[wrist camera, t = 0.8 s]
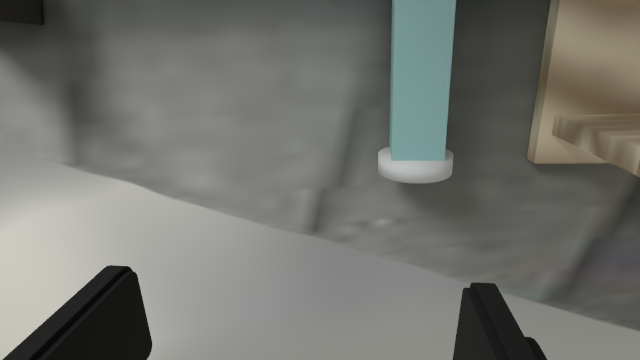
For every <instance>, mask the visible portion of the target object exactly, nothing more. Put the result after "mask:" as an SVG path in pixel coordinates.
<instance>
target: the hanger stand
mask: <svg viewBox="0 0 640 360" xmlns="http://www.w3.org/2000/svg"><path fill="white" fill-rule="evenodd" d="M527 159H528V160H529V161H531V162H532V163H534V164H564V163H612V164H614V165H616V166H618V167H620V168H622V169H624V170H626V171H628V172H630V173H632V174H634V175H636V176H638V177H640V0H551V1H550V8H549V14H548V21H547V28H546V34H545V41H544V48H543V54H542V61H541V68H540V74H539V81H538V87H537V94H536V101H535V107H534V114H533V121H532V127H531V134H530V141H529V147H528V154H527Z"/></svg>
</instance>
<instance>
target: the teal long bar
mask: <svg viewBox="0 0 640 360" xmlns="http://www.w3.org/2000/svg"><path fill="white" fill-rule="evenodd" d="M455 8H456V0H392V42H391V94H390V147H386V148H384V149H382V150H380V151H379V152H378V172H379V174H380V175H381V176H383V177H385V178H387V179H390V180H394V181H398V182H405V183H433V182H438V181H442V180H445V179H447V178H449V177H450V176H451V175H452V169H453V156H454V154H453V153H452V152H451V151H449V150H447V149H445V146H446V133H447V119H448V105H449V91H450V77H451V63H452V49H453V35H454V22H455Z"/></svg>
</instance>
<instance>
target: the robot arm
mask: <svg viewBox="0 0 640 360" xmlns="http://www.w3.org/2000/svg"><path fill="white" fill-rule="evenodd" d="M151 348H152V340H151V336H150V331H149V327H148V322H147V318H146V313H145V309H144V304H143V300H142V295H141V291H140V286H139V282H138V277H137V274H136V273H135V272H133V271H132V269H131V268H130V267H128V266H107V267H105V268H104V269H103V270H102V271H101V272H100V273H98V274H97V275H96V276H95V277H94V278H93V279H92V280H91V281H90V282H88V283H87V284H86V285H85V286H84V287H83V288H82V289H81V290H80V291H78V292H77V293H76V294H75V295H74V296H73V297H72V298H71V299H70V300H69V301H67V302H66V303H65V304H64V305H63V306H62V307H61V308H60V309H58V310H57V311H56V312H55V313H54V314H53V315H52V316H51V317H49V319H47V320H46V321H45V322H44V323H43V324H42V325H41V326H39V327H38V328H37V329H36V330H35V331H34V332H33V333H32V334H31V335H29V336H28V337H27V338H26V339H25V340H24V341H23V342H22V343H21V344H20V345H18V346H17V347H16V348H15V349H14V350H13V351H12V352H11V353H9V354H8V355H7V356H6V357H5V358H4V359H3V360H147V358H148V357H149V355H150V352H151ZM453 360H547V358H546V357H545V355H544V353H543V352H542V350H541V348H540V346H539V345H538V343H537V342H536V341H535V340H534V339H533V338H531V337H524V335H523V333H522V331H521V330H520V328H519V326H518V324H517V322H516V320H515V319H514V317H513V315H512V313H511V311H510V310H509V308H508V306H507V304H506V302H505V301H504V299H503V297H502V295H501V293H500V292H499V290H498V288H497V286H496V285H495V284H493V283H471V285H470V288H464V289H463V294H462V300H461V307H460V314H459V321H458V328H457V334H456V341H455V348H454V355H453Z"/></svg>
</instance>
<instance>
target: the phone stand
mask: <svg viewBox="0 0 640 360" xmlns="http://www.w3.org/2000/svg"><path fill="white" fill-rule="evenodd" d="M0 20H2V21H12V22H21V23H31V24H40V25H43V12H42V0H0Z"/></svg>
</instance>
